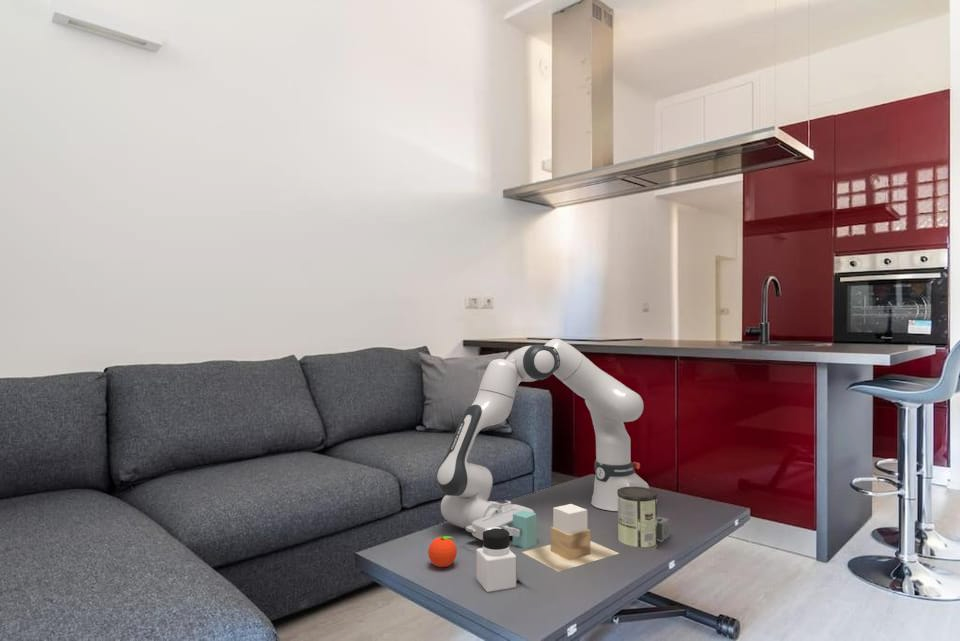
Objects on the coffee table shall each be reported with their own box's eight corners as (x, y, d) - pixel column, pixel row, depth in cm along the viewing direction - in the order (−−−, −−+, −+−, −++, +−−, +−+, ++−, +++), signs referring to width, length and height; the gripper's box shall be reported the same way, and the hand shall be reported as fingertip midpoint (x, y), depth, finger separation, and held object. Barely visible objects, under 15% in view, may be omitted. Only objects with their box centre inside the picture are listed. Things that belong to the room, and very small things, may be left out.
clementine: (451, 557, 144) (451, 528, 144) (465, 566, 138) (465, 537, 138) (423, 564, 139) (423, 535, 139) (437, 574, 134) (437, 544, 134)
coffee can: (628, 534, 160) (628, 484, 160) (664, 543, 153) (663, 491, 153) (610, 544, 152) (610, 491, 152) (646, 555, 145) (646, 499, 145)
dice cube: (662, 542, 154) (662, 523, 154) (644, 538, 157) (644, 519, 157) (669, 537, 158) (669, 519, 158) (652, 533, 161) (651, 515, 161)
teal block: (523, 544, 153) (523, 510, 153) (536, 548, 150) (536, 513, 150) (512, 548, 149) (512, 514, 149) (526, 553, 146) (526, 518, 146)
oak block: (571, 545, 148) (571, 522, 148) (590, 554, 142) (590, 530, 142) (550, 551, 144) (550, 527, 145) (569, 560, 139) (569, 535, 139)
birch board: (580, 541, 155) (580, 536, 155) (619, 558, 143) (619, 553, 143) (521, 556, 144) (521, 552, 144) (558, 576, 132) (558, 571, 132)
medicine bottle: (516, 587, 127) (516, 533, 127) (486, 592, 124) (486, 537, 124) (504, 574, 133) (504, 523, 134) (476, 579, 131) (476, 526, 131)
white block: (571, 523, 148) (571, 503, 148) (587, 529, 143) (587, 509, 143) (553, 527, 144) (553, 507, 145) (569, 534, 139) (569, 514, 140)
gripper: (461, 516, 151) (501, 528, 141) (510, 499, 166) (549, 508, 156) (461, 540, 150) (501, 553, 141) (510, 520, 166) (549, 532, 156)
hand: (527, 530), depth 149 cm, fingers closed on teal block, 4 cm apart
